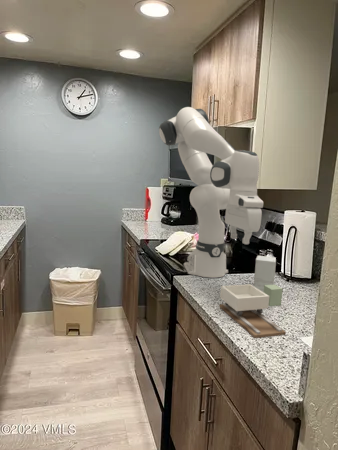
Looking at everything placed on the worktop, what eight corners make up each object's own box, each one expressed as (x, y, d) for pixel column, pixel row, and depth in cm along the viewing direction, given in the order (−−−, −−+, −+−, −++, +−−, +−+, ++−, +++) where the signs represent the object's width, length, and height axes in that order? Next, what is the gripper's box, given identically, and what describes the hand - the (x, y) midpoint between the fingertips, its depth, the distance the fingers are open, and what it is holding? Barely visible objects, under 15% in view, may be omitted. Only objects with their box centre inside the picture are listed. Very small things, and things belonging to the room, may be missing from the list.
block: (262, 301, 123) (264, 285, 122) (273, 300, 125) (275, 284, 124) (269, 306, 119) (271, 289, 118) (280, 305, 120) (282, 288, 119)
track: (219, 306, 116) (219, 302, 116) (245, 304, 119) (246, 300, 119) (254, 338, 96) (255, 333, 95) (285, 334, 99) (286, 330, 98)
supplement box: (273, 288, 138) (276, 257, 136) (272, 294, 131) (276, 261, 129) (254, 285, 140) (257, 254, 138) (252, 291, 133) (255, 259, 131)
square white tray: (219, 303, 115) (221, 286, 114) (249, 301, 118) (250, 284, 117) (235, 317, 104) (237, 298, 103) (267, 314, 108) (269, 296, 107)
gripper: (222, 197, 124) (219, 235, 126) (247, 201, 104) (243, 247, 106) (238, 198, 125) (235, 235, 127) (266, 202, 106) (262, 247, 108)
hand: (239, 241), depth 117 cm, fingers open, 8 cm apart
